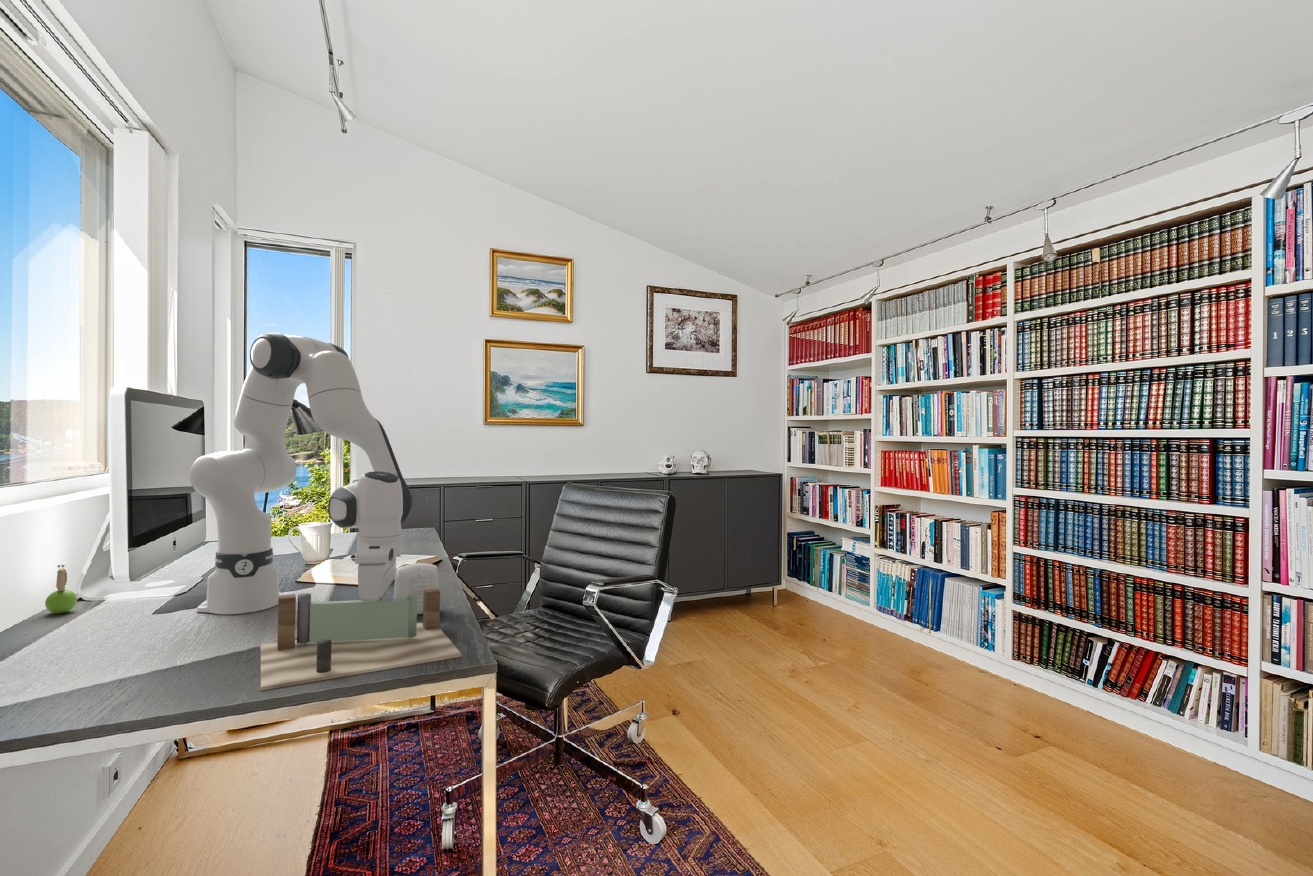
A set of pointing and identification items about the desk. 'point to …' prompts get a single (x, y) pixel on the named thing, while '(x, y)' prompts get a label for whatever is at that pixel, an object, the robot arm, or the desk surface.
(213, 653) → the desk surface
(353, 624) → the gate
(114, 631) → the desk surface
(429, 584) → the photo printer
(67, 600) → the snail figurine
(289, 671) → the gate frame
